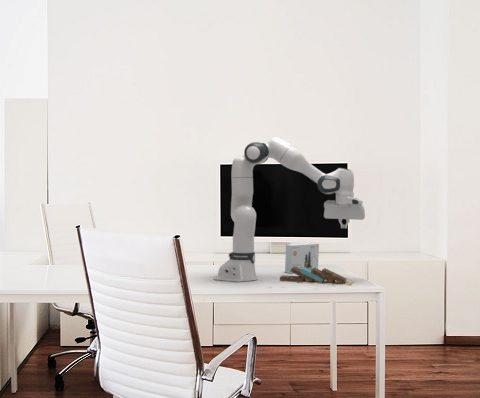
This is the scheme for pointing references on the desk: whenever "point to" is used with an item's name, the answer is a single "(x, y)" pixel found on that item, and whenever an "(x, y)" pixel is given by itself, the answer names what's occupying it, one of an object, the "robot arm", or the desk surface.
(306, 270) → the tile
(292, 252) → the skincare box
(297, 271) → the tile
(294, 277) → the dark wood plank
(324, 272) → the tile
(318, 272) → the tile
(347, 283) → the oak board
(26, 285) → the desk surface
